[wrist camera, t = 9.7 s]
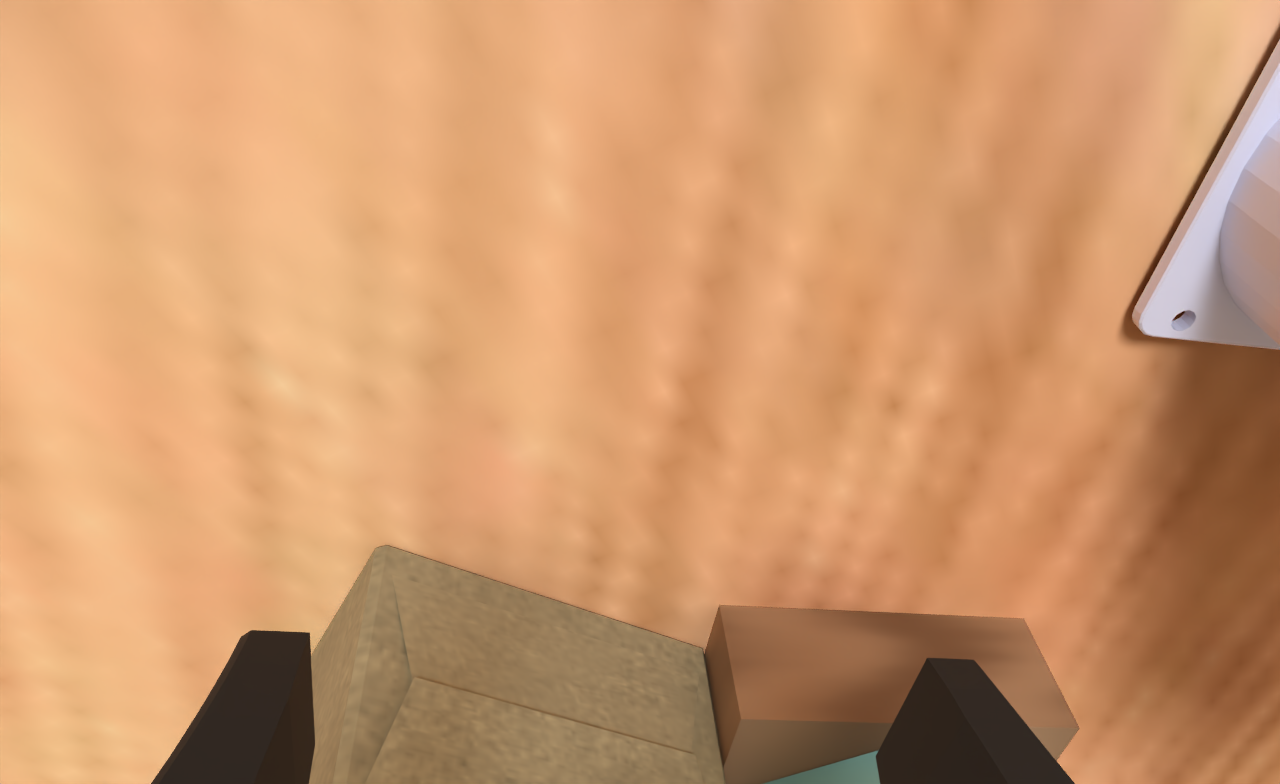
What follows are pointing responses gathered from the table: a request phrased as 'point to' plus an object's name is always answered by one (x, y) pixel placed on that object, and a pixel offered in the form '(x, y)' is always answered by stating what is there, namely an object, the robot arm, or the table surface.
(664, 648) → the tissue box
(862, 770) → the teal cube
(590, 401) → the table surface
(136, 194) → the table surface
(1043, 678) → the walnut block
